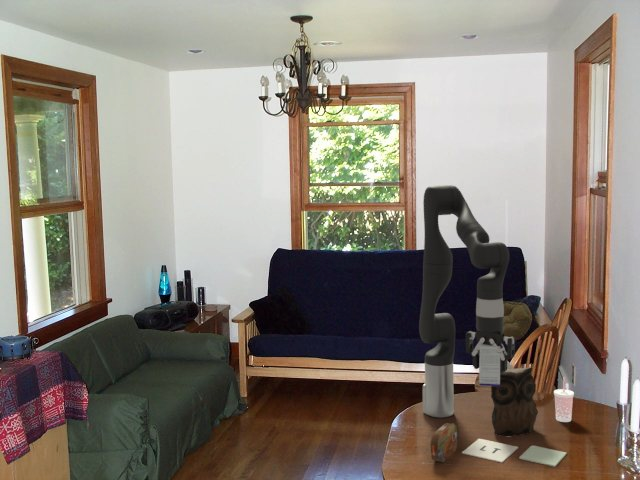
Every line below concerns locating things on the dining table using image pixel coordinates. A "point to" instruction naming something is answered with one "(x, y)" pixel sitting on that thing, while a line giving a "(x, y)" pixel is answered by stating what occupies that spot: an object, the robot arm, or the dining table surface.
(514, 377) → the owl
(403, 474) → the dining table surface
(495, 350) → the supplement box
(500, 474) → the dining table surface
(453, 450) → the tin
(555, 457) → the sage mat
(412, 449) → the dining table surface
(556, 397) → the beverage cup
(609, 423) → the dining table surface
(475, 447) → the tile
